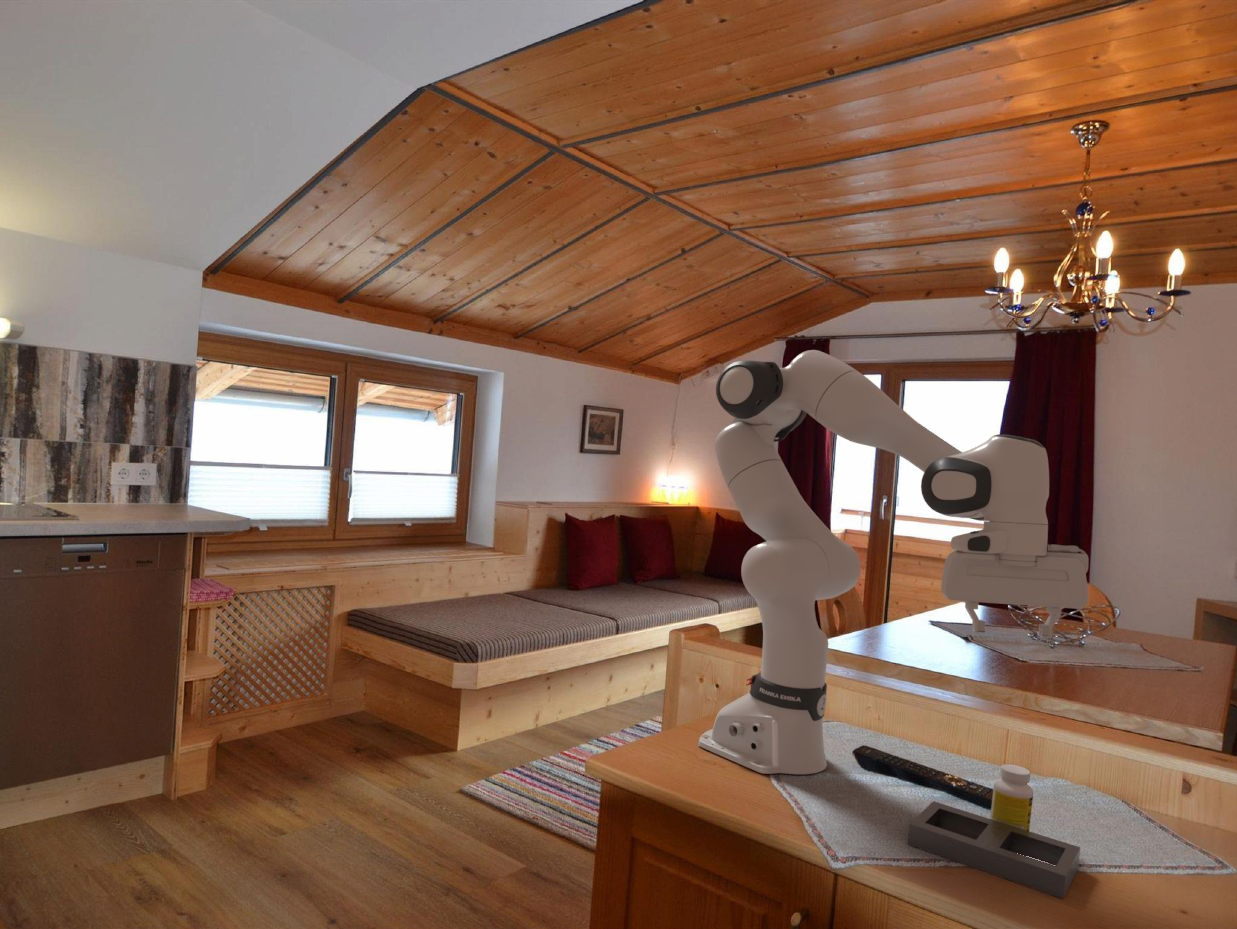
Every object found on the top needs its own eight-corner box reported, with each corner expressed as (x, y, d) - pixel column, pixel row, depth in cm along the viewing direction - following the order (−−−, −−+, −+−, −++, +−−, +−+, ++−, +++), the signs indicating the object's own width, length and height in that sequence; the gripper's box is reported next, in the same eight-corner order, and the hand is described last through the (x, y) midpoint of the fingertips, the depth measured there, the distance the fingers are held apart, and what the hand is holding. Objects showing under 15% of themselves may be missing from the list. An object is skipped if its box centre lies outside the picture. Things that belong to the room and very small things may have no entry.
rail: (907, 844, 124) (909, 823, 124) (931, 820, 133) (933, 801, 132) (1063, 899, 112) (1065, 876, 112) (1078, 868, 121) (1080, 847, 121)
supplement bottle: (1032, 845, 127) (1039, 778, 127) (993, 838, 128) (1000, 772, 128) (1023, 829, 132) (1030, 765, 132) (985, 822, 133) (991, 759, 133)
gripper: (1081, 545, 133) (1078, 636, 133) (940, 537, 136) (937, 626, 136) (1096, 547, 127) (1093, 643, 126) (949, 539, 130) (945, 632, 130)
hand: (1011, 634), depth 131 cm, fingers open, 8 cm apart
